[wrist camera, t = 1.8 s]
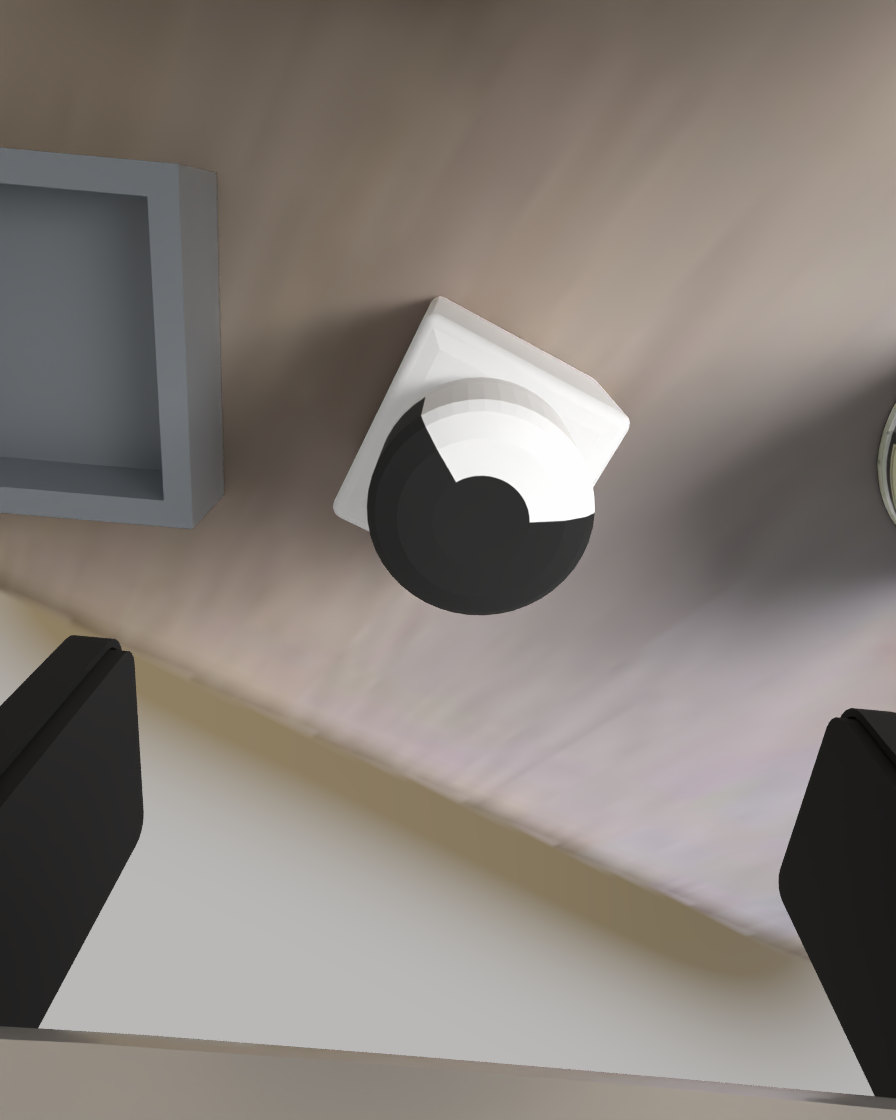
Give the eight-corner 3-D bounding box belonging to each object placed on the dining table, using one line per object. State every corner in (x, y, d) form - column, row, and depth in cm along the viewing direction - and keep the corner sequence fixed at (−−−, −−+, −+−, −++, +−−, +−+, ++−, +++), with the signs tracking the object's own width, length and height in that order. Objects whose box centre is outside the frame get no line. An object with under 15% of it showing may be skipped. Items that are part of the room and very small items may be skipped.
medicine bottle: (510, 534, 33) (532, 685, 22) (355, 457, 32) (297, 575, 21) (600, 381, 31) (676, 465, 20) (436, 291, 30) (418, 328, 19)
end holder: (216, 172, 28) (177, 163, 25) (224, 494, 33) (192, 528, 29) (-125, 141, 28) (-216, 127, 24) (-69, 469, 33) (-139, 500, 29)
